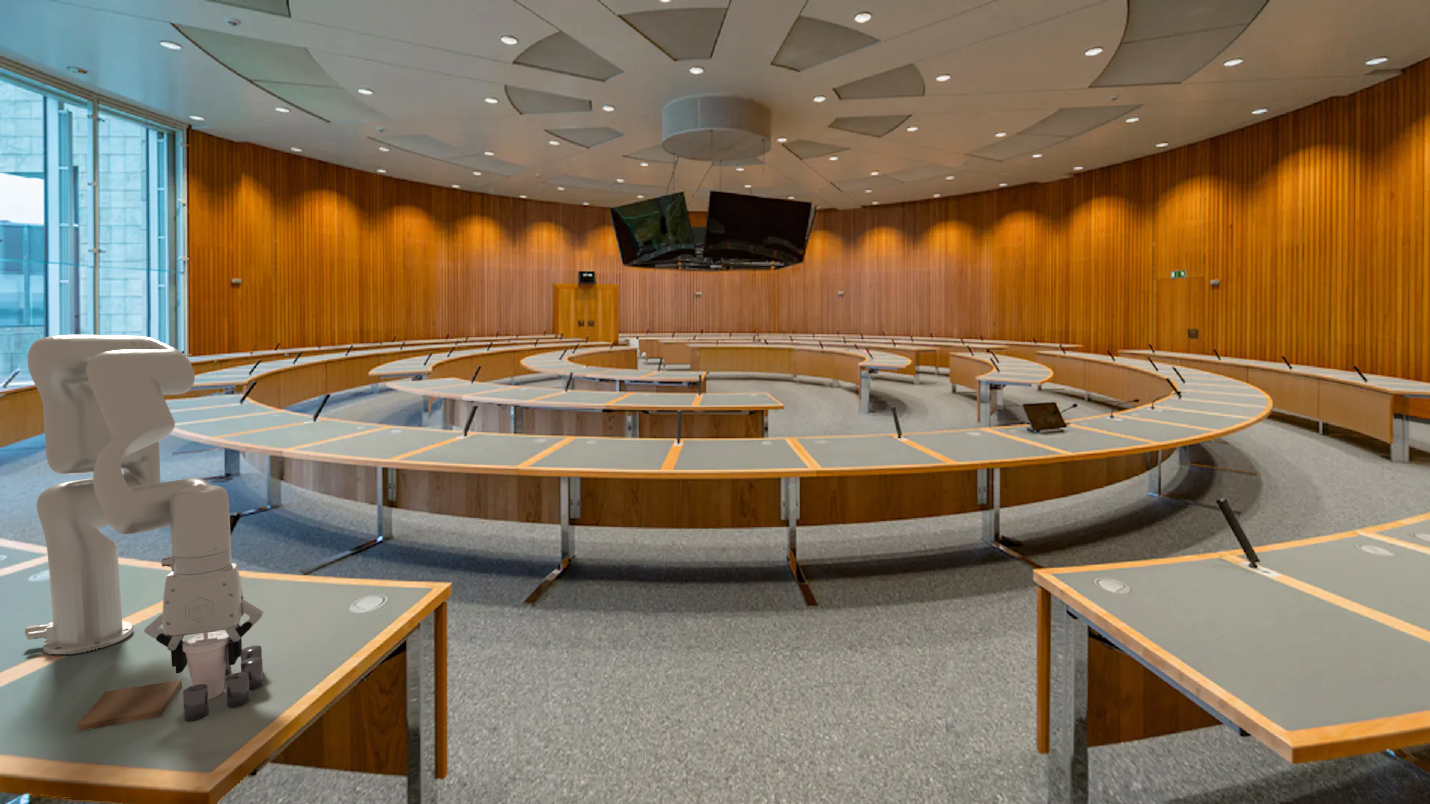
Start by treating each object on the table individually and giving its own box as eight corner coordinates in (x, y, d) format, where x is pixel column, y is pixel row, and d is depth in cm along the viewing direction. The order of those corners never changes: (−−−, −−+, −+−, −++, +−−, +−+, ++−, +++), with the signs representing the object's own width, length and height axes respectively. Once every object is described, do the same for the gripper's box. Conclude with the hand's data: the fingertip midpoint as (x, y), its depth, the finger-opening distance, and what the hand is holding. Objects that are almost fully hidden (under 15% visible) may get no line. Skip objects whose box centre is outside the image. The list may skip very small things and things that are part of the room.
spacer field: (181, 723, 99) (180, 696, 99) (212, 671, 115) (211, 647, 114) (251, 711, 103) (250, 684, 103) (272, 662, 119) (271, 638, 118)
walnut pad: (77, 731, 97) (76, 725, 97) (105, 697, 106) (105, 691, 106) (161, 716, 101) (160, 710, 101) (181, 685, 110) (181, 679, 110)
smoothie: (180, 708, 103) (175, 625, 102) (190, 688, 109) (186, 609, 108) (229, 699, 106) (225, 618, 105) (236, 680, 112) (233, 603, 111)
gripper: (125, 576, 99) (132, 687, 100) (261, 562, 106) (265, 666, 108) (144, 560, 105) (150, 664, 107) (270, 548, 113) (274, 646, 114)
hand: (208, 664), depth 107 cm, fingers closed on smoothie, 6 cm apart
